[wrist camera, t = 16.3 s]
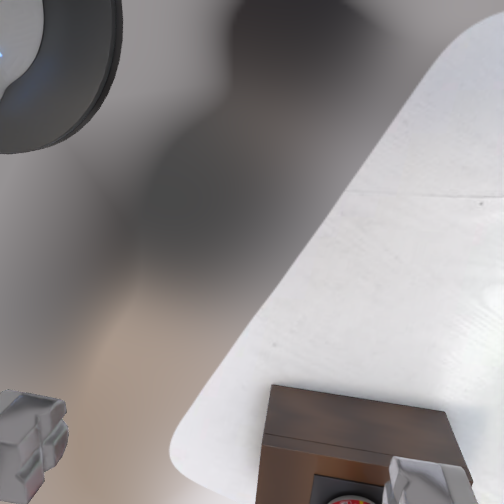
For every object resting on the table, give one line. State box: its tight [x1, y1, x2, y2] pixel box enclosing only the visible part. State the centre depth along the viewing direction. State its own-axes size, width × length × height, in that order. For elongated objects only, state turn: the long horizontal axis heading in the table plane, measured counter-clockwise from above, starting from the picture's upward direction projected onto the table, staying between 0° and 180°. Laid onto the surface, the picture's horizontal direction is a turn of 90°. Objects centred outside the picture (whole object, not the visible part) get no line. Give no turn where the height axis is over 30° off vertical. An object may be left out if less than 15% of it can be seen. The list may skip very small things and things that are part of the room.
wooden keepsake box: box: [255, 385, 473, 504], centre depth 46 cm, size 20×14×12 cm
